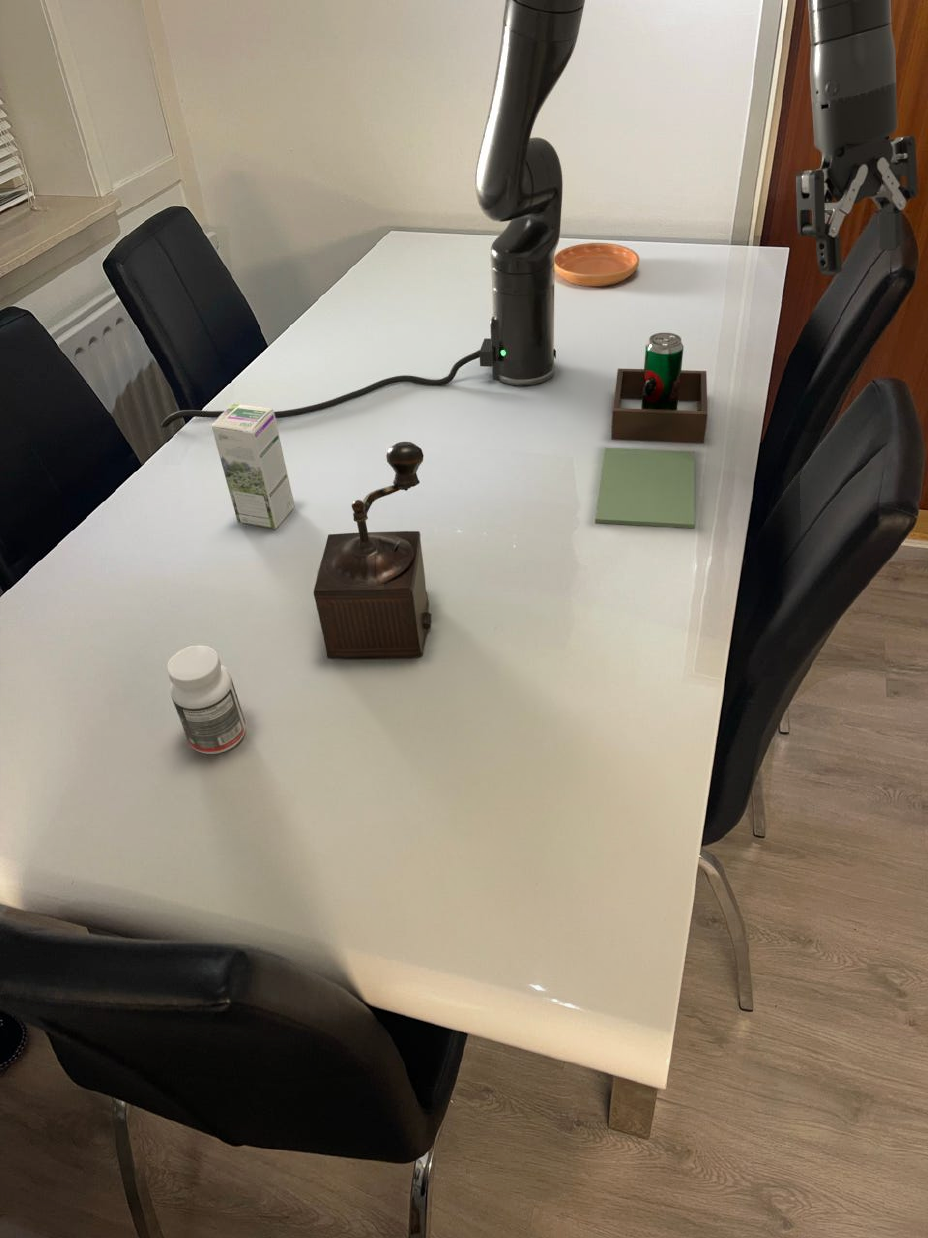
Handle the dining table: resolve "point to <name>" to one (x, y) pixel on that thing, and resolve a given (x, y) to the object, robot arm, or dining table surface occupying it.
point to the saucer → (596, 263)
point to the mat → (647, 488)
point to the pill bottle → (205, 700)
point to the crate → (660, 421)
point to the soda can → (662, 372)
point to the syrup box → (254, 465)
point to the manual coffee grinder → (375, 580)
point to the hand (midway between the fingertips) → (861, 261)
